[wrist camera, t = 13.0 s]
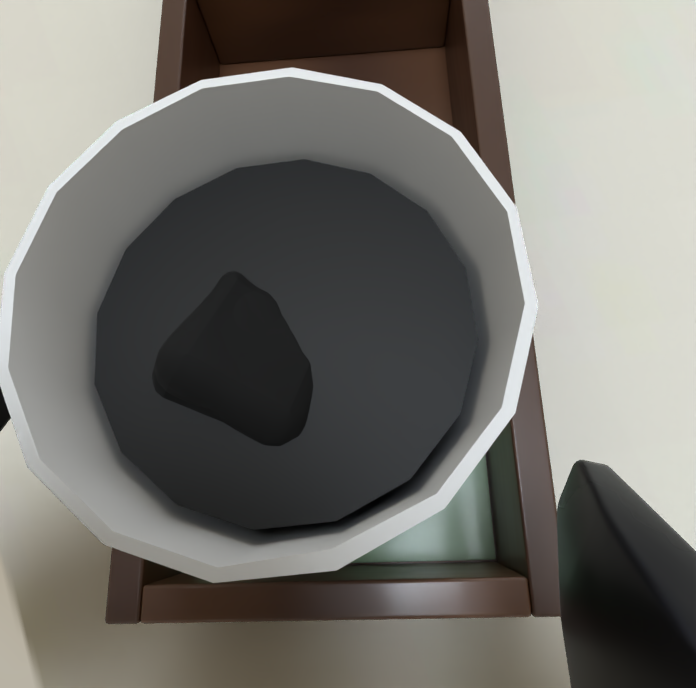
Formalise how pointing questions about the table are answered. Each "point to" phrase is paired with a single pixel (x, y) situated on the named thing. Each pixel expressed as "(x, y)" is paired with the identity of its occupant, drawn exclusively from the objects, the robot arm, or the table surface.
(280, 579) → the tray
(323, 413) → the white cup
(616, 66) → the table surface
